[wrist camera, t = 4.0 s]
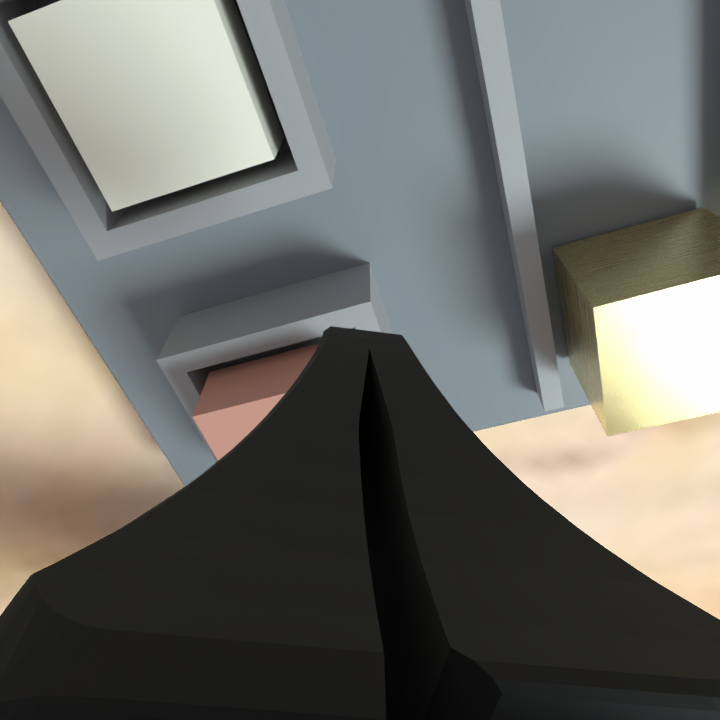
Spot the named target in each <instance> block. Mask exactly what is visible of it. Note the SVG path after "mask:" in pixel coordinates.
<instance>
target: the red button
mask: <svg viewBox="0 0 720 720" xmlns="http://www.w3.org/2000/svg"><path fill="white" fill-rule="evenodd" d="M318 345H319V343H317V344H313V345H310V346H306V347H302V348H298V349H295V350H291V351H287V352H283V353H280V354H276V355H272V356H268V357H265V358H261V359H257V360H253V361H250V362H246V363H242V364H238V365H234V366H231V367H227V368H223V369H219V370H216V371H212V372H209V374H208V377H207V380H206V382H205V385H204V388H203V390H202V393H201V395H200V398H199V401H198V403H197V406H196V409H195V411H194V414H193V416H192V417H193V419H194V420H195V422H196V424H197V426H198V427H199V429H200V431H201V432H202V434H203V436H204V437H205V439H206V441H207V443H208V444H209V446H210V448H211V449H212V451H213V453H214V455H215V456H216V458H217V460H220V459H221V458H222V457H223V456H225V455H226V454H227V453H228V452H229V451H230V450H232V449H233V448H234V447H235V446H236V445H237V444H238V443H239V442H240V441H241V440H243V439H244V438H245V437H246V436H247V435H248V434H249V433H250V432H251V431H252V430H253V429H254V428H255V427H256V426H257V425H258V424H259V423H260V422H261V421H262V420H263V419H264V418H265V417H266V416H267V414H268V413H269V412H270V411H271V410H272V409H273V407H274V406H275V405H276V404H277V403H278V402H279V401H280V399H281V398H282V397H283V396H284V395H285V394H286V392H287V391H288V390H289V389H290V387H291V386H292V385H293V383H294V382H295V381H296V379H297V378H298V376H299V375H300V374H301V372H302V371H303V369H304V368H305V367H306V365H307V364H308V362H309V361H310V359H311V357H312V356H313V354H314V352H315V351H316V349H317V347H318Z"/></svg>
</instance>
